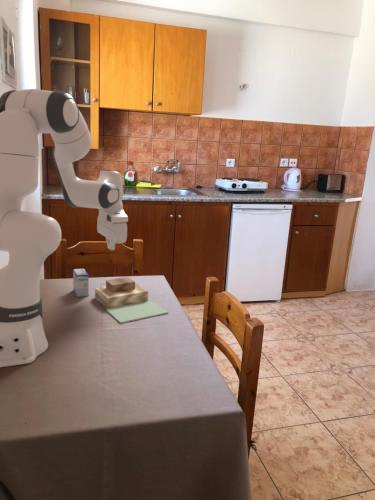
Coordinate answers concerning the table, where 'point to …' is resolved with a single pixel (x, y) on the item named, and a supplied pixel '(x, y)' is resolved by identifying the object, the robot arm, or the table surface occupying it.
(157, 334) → the table surface
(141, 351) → the table surface
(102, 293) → the beech block
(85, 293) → the medicine box
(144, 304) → the sage green mat
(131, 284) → the walnut tile
